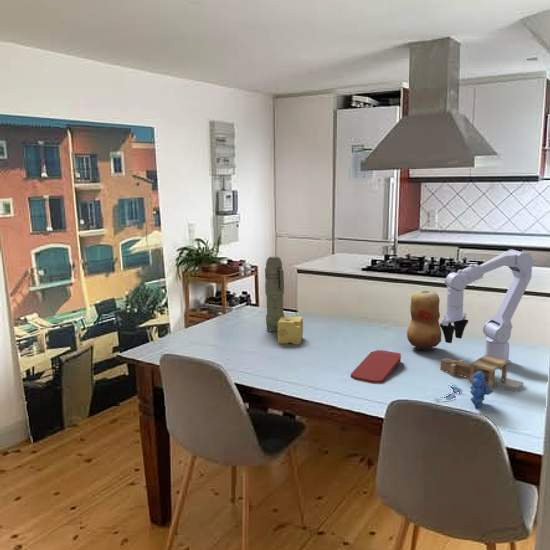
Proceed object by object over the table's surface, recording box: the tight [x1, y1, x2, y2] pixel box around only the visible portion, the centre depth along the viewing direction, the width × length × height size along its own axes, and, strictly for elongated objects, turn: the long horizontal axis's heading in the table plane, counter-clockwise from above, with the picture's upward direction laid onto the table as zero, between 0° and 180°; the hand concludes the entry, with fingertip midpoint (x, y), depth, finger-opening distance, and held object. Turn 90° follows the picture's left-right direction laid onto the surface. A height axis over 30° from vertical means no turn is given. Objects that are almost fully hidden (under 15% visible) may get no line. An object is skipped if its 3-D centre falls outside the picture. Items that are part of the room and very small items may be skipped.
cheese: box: [277, 316, 304, 345], centre depth 240 cm, size 10×11×10 cm
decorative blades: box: [436, 382, 462, 401], centre depth 179 cm, size 20×1×10 cm
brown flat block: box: [498, 377, 524, 393], centre depth 183 cm, size 6×6×2 cm
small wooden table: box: [469, 355, 509, 389], centre depth 189 cm, size 12×8×7 cm, turn 134°
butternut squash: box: [406, 289, 442, 351], centre depth 222 cm, size 14×13×25 cm
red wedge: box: [350, 349, 402, 384], centre depth 202 cm, size 12×5×25 cm
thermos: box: [264, 256, 286, 332], centre depth 256 cm, size 9×12×35 cm
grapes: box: [469, 371, 494, 408], centre depth 167 cm, size 12×7×12 cm, turn 150°
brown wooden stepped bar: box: [440, 357, 496, 383], centre depth 194 cm, size 8×19×4 cm, turn 43°
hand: (453, 340), depth 202 cm, fingers open, 7 cm apart
